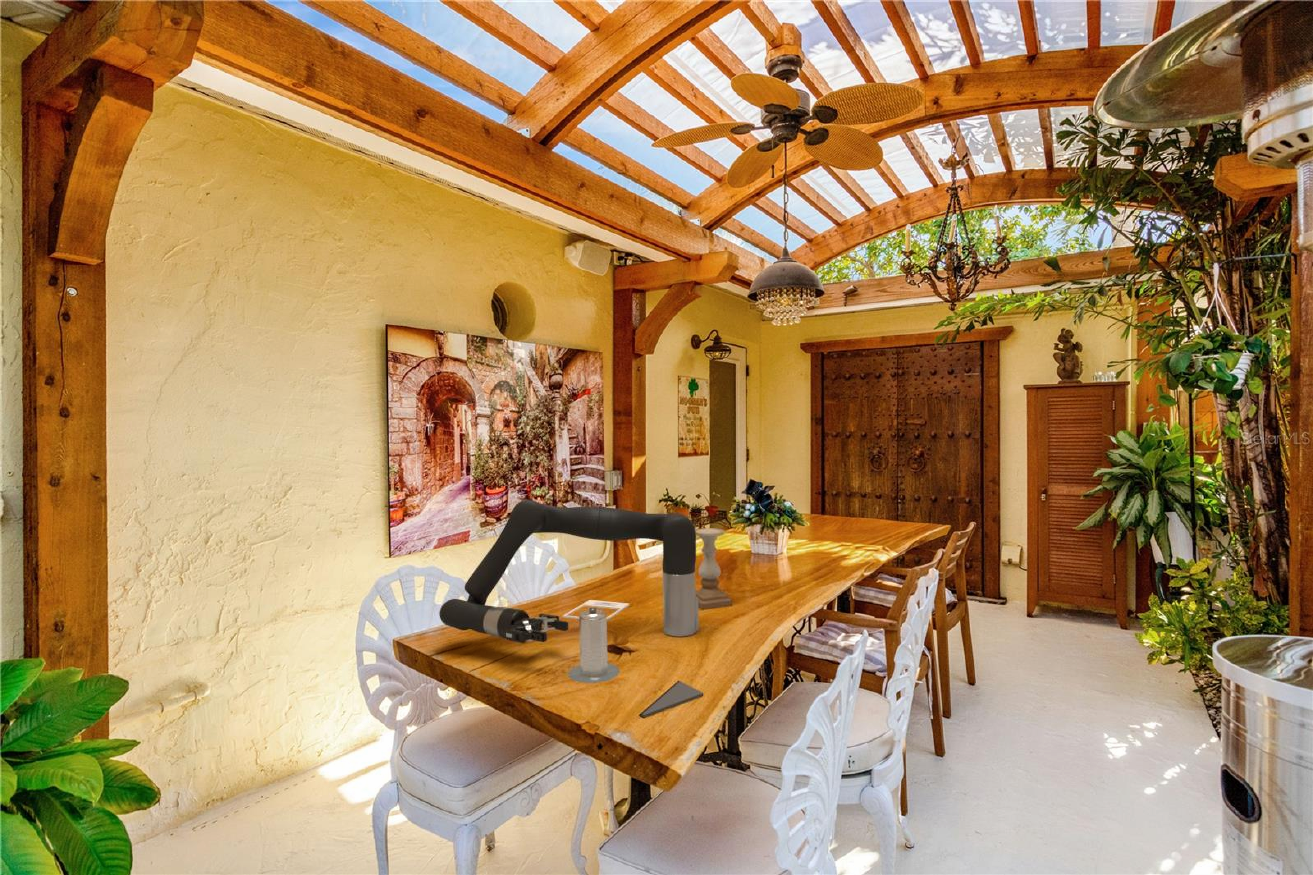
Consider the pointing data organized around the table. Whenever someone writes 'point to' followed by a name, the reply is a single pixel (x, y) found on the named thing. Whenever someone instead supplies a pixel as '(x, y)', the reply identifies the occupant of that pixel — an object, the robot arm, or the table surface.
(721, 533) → the candle holder
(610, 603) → the white rectangular frame
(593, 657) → the steel canister
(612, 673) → the grey pot lid
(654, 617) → the table surface
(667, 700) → the rubber mat
